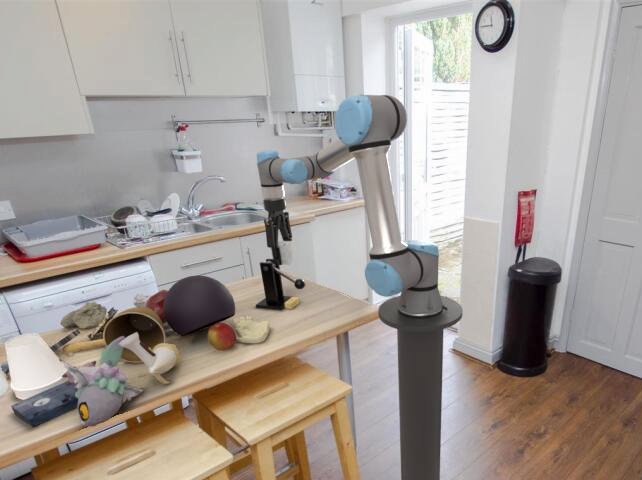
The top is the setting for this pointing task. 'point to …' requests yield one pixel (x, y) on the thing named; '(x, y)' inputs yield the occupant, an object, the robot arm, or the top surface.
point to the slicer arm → (289, 277)
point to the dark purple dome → (197, 304)
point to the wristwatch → (5, 368)
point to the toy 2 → (100, 386)
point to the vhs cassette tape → (46, 404)
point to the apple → (221, 336)
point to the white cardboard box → (285, 252)
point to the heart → (157, 304)
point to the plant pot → (135, 330)
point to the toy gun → (153, 356)
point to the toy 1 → (64, 340)
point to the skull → (141, 300)
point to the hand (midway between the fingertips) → (283, 261)
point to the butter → (292, 302)
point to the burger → (103, 323)
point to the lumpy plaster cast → (250, 330)
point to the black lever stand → (272, 287)
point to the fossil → (85, 316)
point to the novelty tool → (95, 344)
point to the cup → (32, 365)
